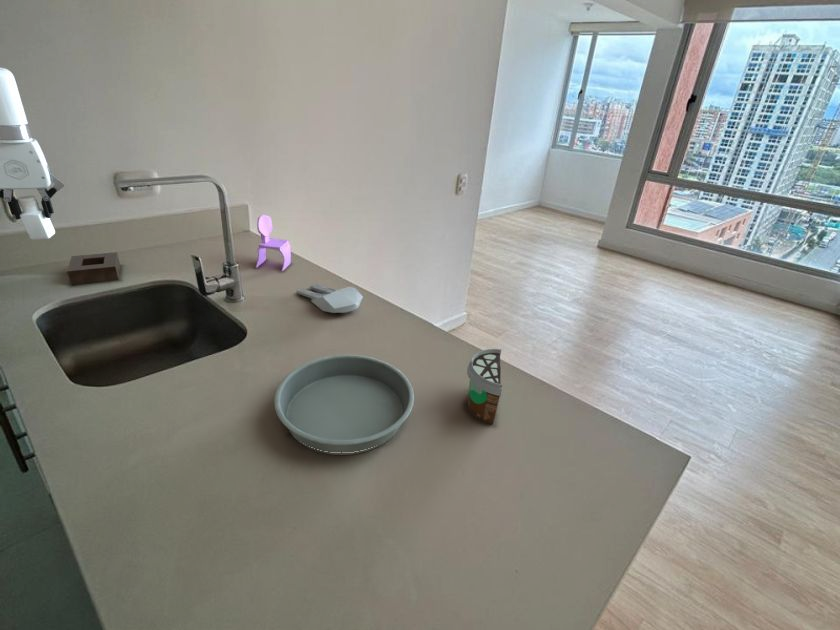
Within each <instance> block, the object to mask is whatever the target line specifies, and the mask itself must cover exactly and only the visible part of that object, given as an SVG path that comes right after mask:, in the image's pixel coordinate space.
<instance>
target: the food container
mask: <svg viewBox="0 0 840 630" xmlns="http://www.w3.org/2000/svg"><path fill="white" fill-rule="evenodd" d="M501 354H502V349H501V348H488V349H484V350H480V351H478V352H477V353H475V354H474V355H473V357H472V358H471V359H470V361H469V363H468V366H467V368H466V373H467V376H468V379H469V384H468V395H467V408H468V409H467V410H469V412H470V413H471V414H472V416H473V417H475V418H476V419H477V420H479V421H481V422H483V423H486V424H490V425H494V421H495V417H496V414H497V410H498V405H499V402H500V398H501V396H502V390H503V384H502V382H501V377H502V375H501V372H502V371H501Z"/></svg>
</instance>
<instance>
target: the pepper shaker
mask: <svg viewBox="0 0 840 630" xmlns="http://www.w3.org/2000/svg"><path fill="white" fill-rule="evenodd" d="M16 199H17V200H18V202H19V205H20V208H21V210H22V213H21V214H20V217H21V219H20V220H21V221H22V224H23V226H24V228H25V230H26V232H27V234H28V237H29V238H30V240H48V239H51V237H53V236H54V235H55V234H56V230H55V227H54V226H53V223H52V221H51V217H50V218H46V217H45V214H44V210H43V208H40V206H39V205H40V204H39V202H38V200H37V198H36V196H35V195H34V194H33V195H31V194H29V195H28V194H27V195H22V196H21V195H20V196H18V197H17V198H16Z"/></svg>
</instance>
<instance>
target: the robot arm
mask: <svg viewBox="0 0 840 630" xmlns="http://www.w3.org/2000/svg"><path fill="white" fill-rule="evenodd" d="M18 88H19V87H18V85H17V82H16V79H15V76H14V74H13V72H12V71H11V70H9V69H8V68H5V67H2V66H1V67H0V198H1V199H3V201H4V202H6V203H7V205H8V208H9V212H10V214H11V215H12V216H14V217H15V220H21V217H20V214H21V213H22V212H23V210H22V207H21V206H20V204H19V202H18V200H17V199H18V198H16V197H15V195H14V193H15V191H14V190H37V192H38V193H39V195H40V196H41V201H40V204H41V206H42V209H43V210H44V214H45V217H46V218H50V219H51V217H52V214H54V213H55V212H54V211H55V210H54V207H53V204H52V201H51V199H52V198H53V197H54V196H55V195H56V193H57V192H59V191H60V190H61V189H63V188H64V187H65V185H66V183H65V182H64V181H63V180H62V179H60V178H59V177H58V176H57V175H56V174H55V173H53V172H52V171H50V167H49V165H48V162H47V160H46V159H47V158H46V156H45V154H44V152H43V150H42V148H41V145H40V144H39V142H38V140H37V139H36V138H33V136H32V132H31V129H30V126H29V123H28V120H27V115H26V112H25V109H24V105H23V102H22V99H21V95H20V92H19V89H18ZM52 183H53V185H52ZM51 185H52V186H51ZM50 186H51V187H50ZM49 187H50V188H49ZM48 188H49V189H48Z"/></svg>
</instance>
